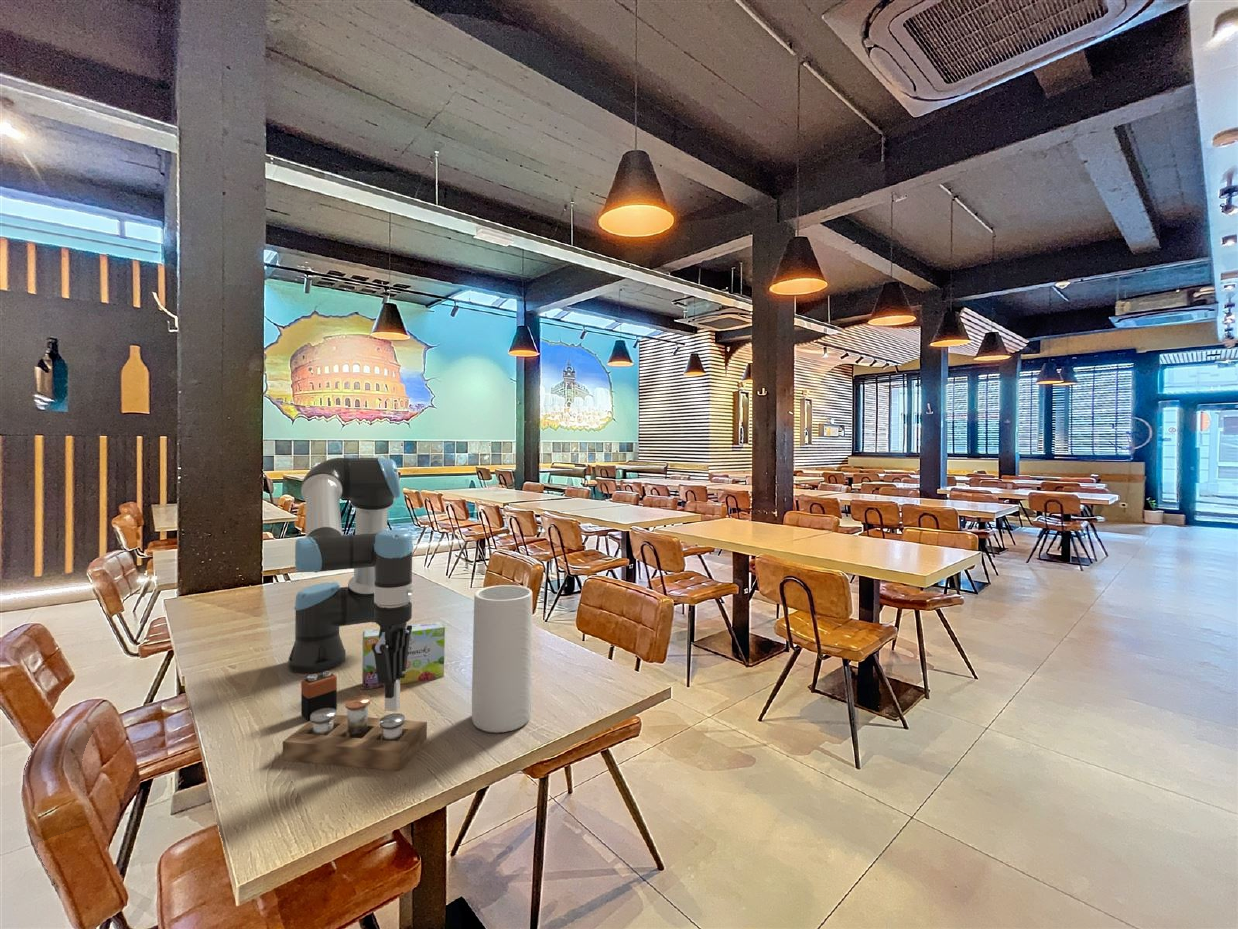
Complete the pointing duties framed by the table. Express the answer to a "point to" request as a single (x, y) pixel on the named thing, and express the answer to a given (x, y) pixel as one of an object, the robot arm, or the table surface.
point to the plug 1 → (323, 721)
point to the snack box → (409, 655)
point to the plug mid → (357, 713)
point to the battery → (318, 693)
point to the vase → (502, 658)
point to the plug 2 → (392, 726)
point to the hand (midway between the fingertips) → (392, 709)
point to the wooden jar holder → (355, 745)
